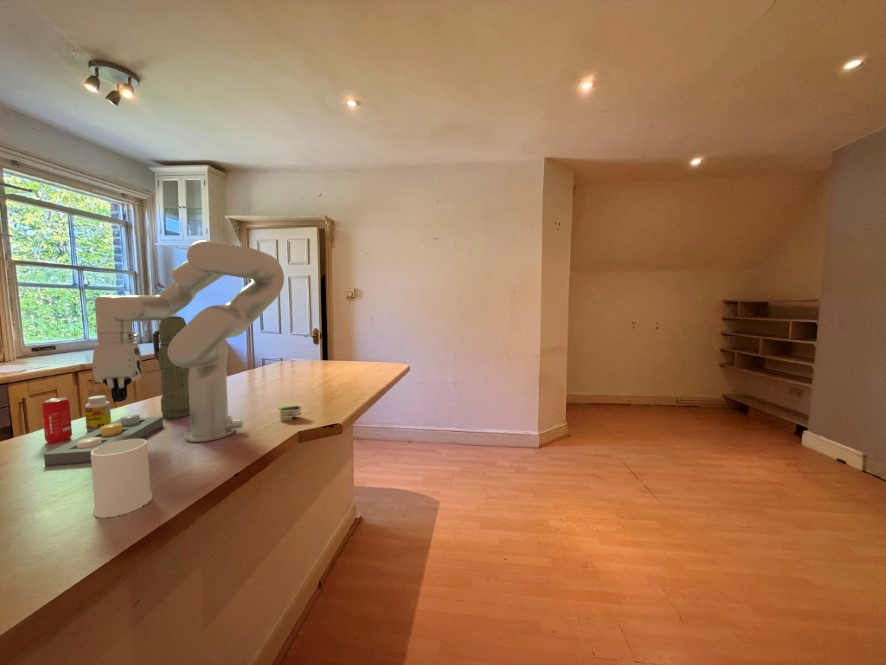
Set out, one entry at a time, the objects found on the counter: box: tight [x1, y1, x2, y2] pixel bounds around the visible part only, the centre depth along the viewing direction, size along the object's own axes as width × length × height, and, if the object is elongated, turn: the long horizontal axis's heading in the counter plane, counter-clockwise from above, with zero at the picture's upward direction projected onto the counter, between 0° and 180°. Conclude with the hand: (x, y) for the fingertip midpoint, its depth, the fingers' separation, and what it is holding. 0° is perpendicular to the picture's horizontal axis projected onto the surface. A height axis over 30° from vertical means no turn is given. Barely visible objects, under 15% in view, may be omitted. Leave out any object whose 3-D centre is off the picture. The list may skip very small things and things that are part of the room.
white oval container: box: [90, 438, 153, 519], centre depth 69 cm, size 12×8×12 cm
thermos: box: [152, 316, 190, 420], centre depth 121 cm, size 9×12×35 cm
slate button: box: [119, 414, 141, 426], centre depth 105 cm, size 4×4×3 cm
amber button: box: [100, 423, 122, 437], centre depth 97 cm, size 4×4×3 cm
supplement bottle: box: [84, 395, 112, 432], centre depth 108 cm, size 6×6×10 cm
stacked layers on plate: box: [278, 401, 302, 422], centre depth 119 cm, size 10×9×6 cm
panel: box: [43, 416, 164, 467], centre depth 97 cm, size 12×26×3 cm, turn 13°
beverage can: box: [41, 397, 73, 445], centre depth 98 cm, size 5×5×12 cm
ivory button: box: [77, 437, 102, 449], centre depth 90 cm, size 4×4×3 cm
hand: (119, 400), depth 101 cm, fingers closed
